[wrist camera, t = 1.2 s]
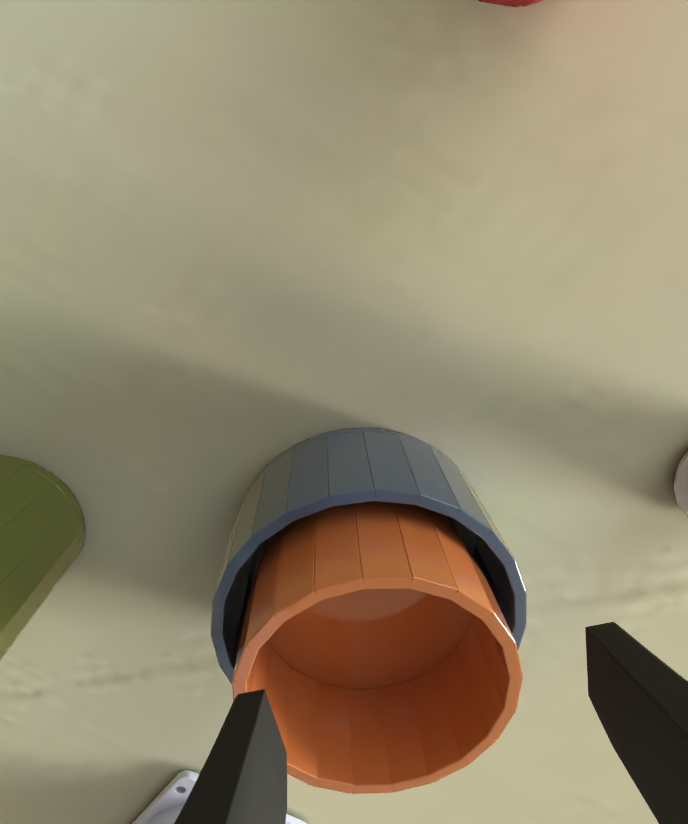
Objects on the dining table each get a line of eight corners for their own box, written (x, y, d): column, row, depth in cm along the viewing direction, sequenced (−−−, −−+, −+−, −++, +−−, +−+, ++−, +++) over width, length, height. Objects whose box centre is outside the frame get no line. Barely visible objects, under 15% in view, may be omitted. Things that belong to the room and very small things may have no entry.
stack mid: (374, 646, 23) (397, 827, 16) (223, 559, 21) (176, 723, 14) (495, 523, 21) (581, 669, 14) (342, 414, 19) (354, 521, 12)
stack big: (377, 671, 24) (391, 780, 19) (187, 564, 21) (150, 659, 17) (531, 518, 21) (591, 600, 17) (336, 375, 19) (342, 425, 14)
